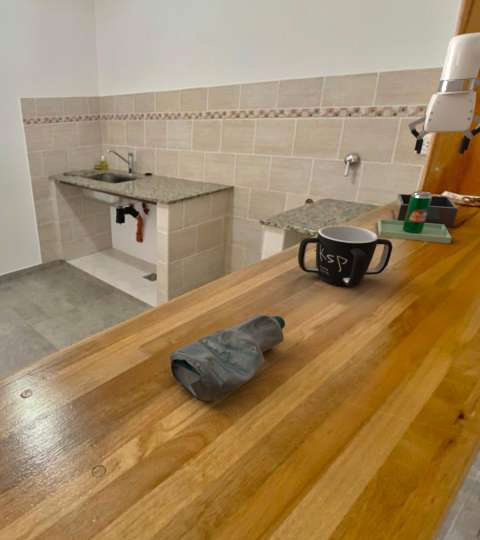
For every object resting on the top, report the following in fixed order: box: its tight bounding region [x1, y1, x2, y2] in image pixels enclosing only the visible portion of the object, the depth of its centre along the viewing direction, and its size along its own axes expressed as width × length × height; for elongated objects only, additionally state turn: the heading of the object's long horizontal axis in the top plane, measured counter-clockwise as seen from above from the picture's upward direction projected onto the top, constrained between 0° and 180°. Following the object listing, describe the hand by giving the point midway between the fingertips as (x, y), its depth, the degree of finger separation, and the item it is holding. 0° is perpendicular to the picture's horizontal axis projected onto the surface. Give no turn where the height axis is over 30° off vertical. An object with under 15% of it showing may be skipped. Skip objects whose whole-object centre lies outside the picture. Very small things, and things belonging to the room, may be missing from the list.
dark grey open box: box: [393, 193, 459, 229], centre depth 129 cm, size 15×16×6 cm
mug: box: [297, 225, 394, 288], centre depth 91 cm, size 16×16×12 cm
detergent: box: [169, 313, 286, 401], centre depth 65 cm, size 13×7×25 cm
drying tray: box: [377, 218, 452, 244], centre depth 118 cm, size 17×13×2 cm
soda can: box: [402, 191, 433, 233], centre depth 116 cm, size 5×5×12 cm
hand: (438, 153), depth 109 cm, fingers open, 9 cm apart
